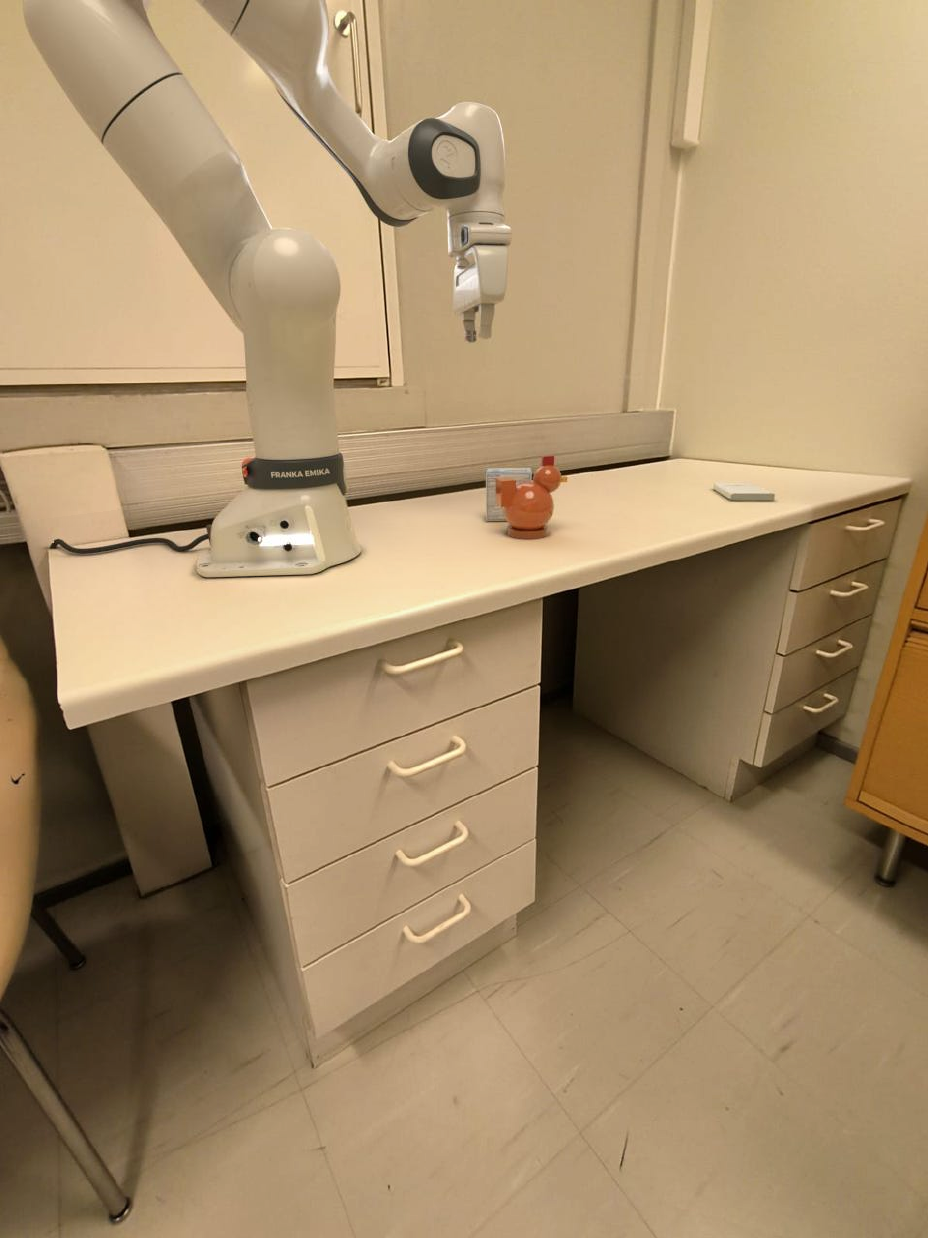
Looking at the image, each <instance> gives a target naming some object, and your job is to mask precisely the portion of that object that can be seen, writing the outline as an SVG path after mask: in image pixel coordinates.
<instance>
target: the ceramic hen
mask: <svg viewBox="0 0 928 1238" xmlns="http://www.w3.org/2000/svg"><path fill="white" fill-rule="evenodd" d="M562 483H568V476H566V475H562V473H561V472H560V469H559V468H558V467H556V466H555V455H554V454H553V455H541V464H540V466H539V467H537V469H536V470H535V471H534V473H533V475H532V481H524V482H520V483H518V484H516V480H515V479H513V478H511V477H500V478H496V489H495V503H496V504H498V505H499V506H500V507H503V511H504V515H505V518H506V520H507V521H506V522H507V523H508V524H509V525H508V526H507V535H508V536H509V537H511V538H514V539H521V540H536V539H542V538H545V537H547V536H548V534H549V526H548V523H549V522H550V520H551V519H552V517H553V514H554V510H555V503H554V499H553V496H552V494H551V493H553V492H556V490H558V489H559V487H560V485H561V484H562Z"/></svg>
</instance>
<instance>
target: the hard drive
mask: <svg viewBox="0 0 928 1238" xmlns="http://www.w3.org/2000/svg"><path fill="white" fill-rule="evenodd" d="M712 488H713V490H715V492H717V493H719V494H720V495H721V496H723V497H724V498H727V499H728V500H729V501H732V502H773V501H775V497H776V493H774V492H772V491H769V490H767V489H766V488H763V487H761V486H759V485H757V484H756V483H753V482H714V483H713V487H712Z"/></svg>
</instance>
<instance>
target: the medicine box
mask: <svg viewBox="0 0 928 1238" xmlns="http://www.w3.org/2000/svg"><path fill="white" fill-rule="evenodd" d="M500 477H511V478H513V479H515V480H516V484H518V483H520V482H524V481H533V472H532V468H531V467H497V468H496V467H495V468H493V467H491V468H489V467H488V468H487V470H486V472H485V521H486V522H508V521H507V520H506V518H505V515H504V511H503V507H500V506H499V505H498V504H496V503H495V489H496V478H500Z"/></svg>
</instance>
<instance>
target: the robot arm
mask: <svg viewBox="0 0 928 1238" xmlns="http://www.w3.org/2000/svg"><path fill="white" fill-rule="evenodd" d="M195 1H196V2H197V3H198V4H199V6H200V7H201V8H202V9H203V10H204V11H205V12H206V13H207V14H208V16H210V17H211V19H212V20H213V21H214V22H215V23H216V24H217V25H218V26H219V27H220V28H221V29H222V30H223V31H224V32H225V33H226V34H227V35H229V37H230V38H231V39H232V40H233V41H234V42H235V43H236V44H237V45H238V46H239V47H240V48H241V49H242V50H243V51H244V52H246V54H247V55H248V56H249V57H250V58H251V59H252V61H253V62H254V63H255V64H256V65H257V66H258V67H259V69H260V70H261V71H262V72H263V73H264V74H265V76H267V78H268V79H269V81H270V82H271V84H272V85H273V86H274V88H275V90H276V91H277V93H278V94H279V96H280V97H281V99H282V100H283V102H284V103H285V104H286V106H287V107H288V108H289V110H290V111H291V112H292V113H293V114H294V115H295V117H296V118H297V119H298V120H299V121H300V123H302V125H303V126H304V127H305V128H306V130H308V131H309V132H310V133H311V135H312V136H313V137H314V138H315V140H317V141H318V142H319V143H320V144H321V146H322V147H323V148H324V149H325V150H326V151H327V152H328V154H330V156H331V157H332V158H333V159H334V160H335V161H336V162H337V164H338V165H339V166H340V167H341V168H342V169H343V170H344V171H345V172H346V174H347V175H348V176H349V177H350V179H351V181H353V183H354V184H355V186H356V187H357V189H358V192H359V193H360V194H361V196H362V198H363V200H364V201H365V203H366V205H367V207H368V208H369V210H370V212H371V213H372V214H373V215H374V216H375V217H376V218H377V219H378V220H379V221H381V222H382V223H384V224H386V225H387V226H390V227H394V228H400V227H405V226H407V225H409V224H410V223H412V222H413V221H415V220H417V219H418V218H419V217H421V216H423V215H425V214H427V213H430V212H432V211H434V210H436V209H437V208H442V209H444V210H446V213H447V251H448V253H447V254H448V256H449V257H450V258H452V259H456V265H455V266H454V270H453V289H452V291H453V292H452V293H453V295H452V296H453V300H452V301H453V302H452V303H453V306H452V307H453V312H454V314H455V315H456V316H461V323H462V328H463V332H464V336H463V337H464V339H463V340H464V342H465V343H467V344H469V343H470V344H472V343H476V342H477V338H479V339H480V340H488V339H491V338H492V335H493V333H492V329H493V328H492V326H493V321H494V316H495V305H498V304H499V303H502V302H504V299H505V296H506V292H507V282H508V269H509V250H508V247H510V245H511V244H512V237H513V236H512V235H513V233H512V228H511V227H510V226H508V225H506V216H505V210H504V205H503V195H504V190H505V185H506V153H505V142H504V133H503V129H502V124H501V120H500V118H499V116H498V114H497V112H496V111H495V110H494V109H493V108H491V107H490V106H488V105H486V104H485V103H482V102H479V101H461V102H459V103H456V104H454V105H453V106H452V107H451V109H450V110H449V111H447V112H446V113H444V114H442V115H441V116H438V117H430V118H425V119H421V120H420V121H417V122H416V123H415V124H412V125H411V126H409V127H408V128H407V129H405V130H404V131H402V132H401V133H400V134H399V135H397V136H396V137H394V138H393V139H391V140H387V139H383V138H380V137H379V136H377V135H375V134H374V133H373V132H372V130H371V129H370V128H369V127H368V125H367V124H366V123H365V122H364V120H363V119H362V118H361V117H360V115H358V113H357V111H356V110H355V109H354V108H353V107H352V106H351V104H350V103H349V102H348V101H347V99H346V98H345V97H344V96H343V95H342V93H341V92H340V91H339V90H338V88H337V86H336V84H335V83H334V80H333V78H332V76H331V73H330V70H329V63H328V49H329V39H330V21H329V10H328V4H327V1H326V0H195ZM152 3H153V0H23V1H22V13H23V19H24V23H25V26H26V29H27V32H28V34H29V37H30V39H31V40H32V42H33V44H34V46H35V47H36V49H37V51H38V53H39V54H40V56H41V58H42V59H43V61H44V63H45V64H46V66H47V68H48V69H49V71H50V72H51V74H52V75H53V77H54V79H55V80H56V81H57V83H58V85H59V87H60V88H61V90H62V92H63V93H64V94H65V95H66V97H67V99H68V100H69V102H70V103H71V104H72V107H74V109H75V110H76V112H77V113H78V114H79V116H80V117H81V119H82V120H83V122H84V123H85V124H86V125H87V127H88V128H89V129H90V131H91V132H92V133H93V135H94V136H95V137H96V138H97V140H98V141H99V142H100V144H101V145H102V146H103V147H104V149H105V150H106V151H107V152H108V154H109V155H110V157H111V158H112V159H113V160H114V162H115V163H116V164H117V165H118V167H119V168H120V169H121V170H122V171H123V173H124V174H125V175H126V176H127V178H128V179H129V180H130V182H131V183H132V184H133V185H134V187H135V188H136V189H137V190H138V192H139V194H141V196H142V197H143V198H144V199H145V201H146V202H147V203H148V204H149V206H150V208H152V210H153V211H154V213H156V215H157V216H158V217H159V219H160V220H161V221H162V223H163V224H164V225H165V227H166V228H167V229H168V231H169V232H170V234H171V235H172V237H173V238H174V239H175V241H176V243H177V244H178V245H179V247H180V248H181V250H182V252H183V253H184V254H185V256H186V257H187V259H188V261H189V262H190V263H191V264H190V265H192V267H193V268H194V269H195V271H196V273H197V274H198V276H199V277H200V279H201V280H202V281H203V283H204V284H205V286H206V287H207V288H208V290H209V292H210V293H211V294H212V296H213V297H214V298H215V300H216V301H217V302H218V304H219V305H220V306H221V309H223V311H224V312H225V313H226V315H227V317H228V318H229V319H230V321H231V322H232V323H233V325H234V326H235V327H236V329H238V330H239V331H240V332H241V334H243V347H244V361H245V383H246V384H245V385H246V388H245V398H246V402H247V408H248V416H249V421H250V428H251V435H252V440H253V446H254V453H255V457H246V458H245V459H244V460H243V461H242V462H241V472H242V479H243V483H244V485H246V487H245V488H243V490H242V491H240V493H238V494H237V495H236V496H235V497H234V498H233V499H232V500H230V502H229V503H228V504H226V506H225V507H224V508H223V509H222V510H221V511H220V512H219V513H218V514H217V515H216V516H215V517H214V519H213V521H212V522H211V523H212V524H207V525H205V528H206V532H207V533H205V534H203V535H200V536H198V537H197V538H195V539H194V540H193V541H192V542H190V543H189V544H186V545H181V546H180V545H177V544H176V543H175V542H174V541H173V540H171V539H169V538H165V537H147V538H141V539H134V540H129V541H124V542H119V543H115V544H108V545H104V546H96V547H89V548H87V547H86V548H85V547H84V548H79V547H74V546H71V545H70V544H68V543H67V542H65V541H64V540H63V539H60V538H56V539H54V540H53V541H54V543H52V542H51V544H50V546H49V549H50V550H55V549H57V548H58V546H60V547H61V548H62V549H64V550H65V551H67V552H70V553H72V554H75V555H76V554H77V555H91V554H92V555H93V554H100V553H106V552H110V551H115V550H116V551H117V550H120V549H125V548H130V547H136V546H141V545H147V544H166V545H168V546H169V547H170V548H171V549H172V550H173V551H175V552H178V553H179V552H180V553H183V552H187V551H190V550H193V549H194V548H195V547H197V546H198V545H199V544H201V543H202V542H204V541H207V540H208V543H209V546H210V548H208V549H206V550H204V552H202V553H201V554H200V555H199V557H198V558H197V560H196V564H195V565H196V572H197V574H199V576H201V577H204V578H226V577H227V578H228V577H230V578H231V577H255V576H256V577H259V576H260V577H261V576H263V577H264V576H290V575H291V576H293V575H295V576H296V575H313V574H317V573H320V572H322V571H324V570H326V569H328V568H330V567H333V566H337V565H339V564H342V563H345V562H347V561H350V560H353V559H354V558H356V557H358V556H359V555H360V554H361V552H362V548H361V546H360V543H359V542H358V539H357V535H356V533H355V530H354V526H353V522H352V519H351V515H350V511H349V505H348V503H347V496H346V494H347V490H348V483H347V481H348V480H347V471H346V470H347V469H346V464H345V460H344V456H343V453H342V452H340V443H339V435H338V425H337V415H336V405H335V404H336V403H335V389H334V388H335V386H334V385H335V384H334V383H335V366H336V365H335V363H336V362H335V361H336V345H337V344H336V342H337V341H336V340H337V312H338V307H339V302H340V298H341V287H342V286H341V285H342V284H341V277H340V272H339V269H338V267H337V264H336V262H335V259H334V258H333V256H332V254H331V253H330V251H329V250H328V248H327V247H326V246H325V245H324V244H323V243H322V242H321V241H320V240H319V239H317V238H316V237H315V236H313V235H312V234H310V233H308V232H306V231H304V230H300V229H297V228H289V227H275V228H274V227H272V225H271V224H270V221H269V219H268V217H267V215H266V213H265V212H264V210H263V208H262V205H261V204H260V201H259V200H258V198H257V195H256V194H255V191H254V189H253V187H252V185H251V182H250V180H249V177H248V175H247V171H246V168H245V165H244V163H243V161H242V159H241V157H240V156H239V154H238V153H237V152H236V150H235V149H234V147H233V145H232V144H231V142H230V141H229V140H228V138H227V136H226V135H225V133H224V131H223V130H222V129H221V128H220V126H219V125H218V123H217V121H216V120H215V118H214V117H213V116H212V114H211V113H210V111H209V110H208V108H207V107H206V105H205V104H204V103H203V101H202V100H201V98H200V96H199V95H198V94H197V92H196V90H195V88H194V87H193V86H192V84H191V83H190V82H189V80H188V78H187V77H186V76H185V74H184V73H183V71H182V70H181V69H180V67H179V66H178V64H177V63H176V62H175V59H174V58H173V57H172V56H171V54H170V53H169V51H168V50H167V49H166V48H165V47H164V45H163V44H162V42H161V41H160V40H159V38H158V37H157V34H156V33H155V30H154V29H153V27H152V25H151V22H150V20H149V18H148V15H147V11H148V9H149V8H150V6H151V5H152ZM477 313H479V322H478V323H479V324H478V327H477V328H478V329H477V330H476V323H475V322H476V314H477ZM477 331H478V335H477Z"/></svg>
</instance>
